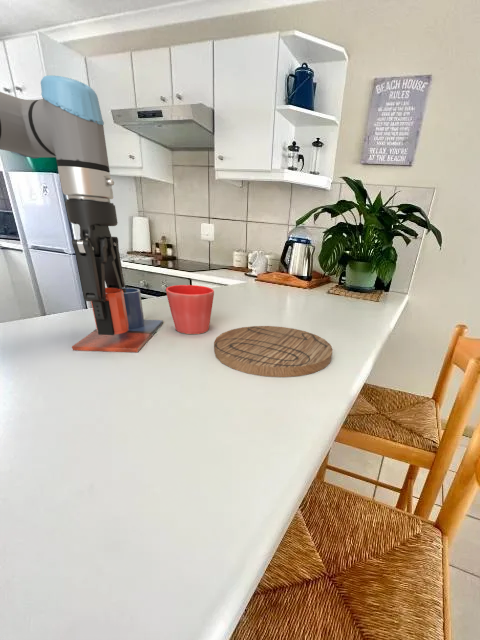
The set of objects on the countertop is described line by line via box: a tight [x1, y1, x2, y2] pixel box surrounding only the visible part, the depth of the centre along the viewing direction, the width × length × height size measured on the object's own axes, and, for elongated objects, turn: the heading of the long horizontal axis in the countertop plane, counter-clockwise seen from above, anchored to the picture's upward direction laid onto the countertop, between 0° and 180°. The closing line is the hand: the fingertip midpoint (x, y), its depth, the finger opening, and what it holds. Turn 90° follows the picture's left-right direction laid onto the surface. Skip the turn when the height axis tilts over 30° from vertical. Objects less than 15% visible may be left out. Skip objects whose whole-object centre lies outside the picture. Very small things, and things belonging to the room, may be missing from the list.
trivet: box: [213, 325, 334, 378], centre depth 69 cm, size 25×25×2 cm
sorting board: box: [71, 319, 164, 353], centre depth 71 cm, size 12×20×1 cm, turn 5°
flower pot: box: [165, 284, 215, 335], centre depth 76 cm, size 11×11×10 cm
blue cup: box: [124, 287, 145, 329], centre depth 74 cm, size 6×6×8 cm
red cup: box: [90, 287, 129, 335], centre depth 64 cm, size 6×6×8 cm
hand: (113, 328), depth 66 cm, fingers closed on red cup, 6 cm apart
